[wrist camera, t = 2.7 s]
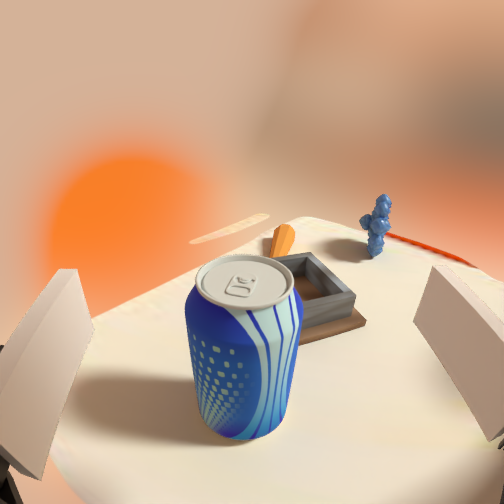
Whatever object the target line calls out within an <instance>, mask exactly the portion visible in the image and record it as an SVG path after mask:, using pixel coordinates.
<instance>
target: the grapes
mask: <svg viewBox="0 0 504 504" xmlns="http://www.w3.org/2000/svg"><path fill="white" fill-rule="evenodd" d="M391 204H392V203H391V201H390V198H389V197H388V196H387V195H386V194H382V195H381V196H380V197H378V198H377V199H376V207H375V208H374V211H372V215H369V214H366V215H364V216H363V217H362V218H361V219H360V220H359V222H360V224H361V226H362V228H363V229H364V230H368V236H369V239H368V244H369V245H368V246H367V249H368V251H369V253H370V255H371V256H373V257H375V256H377V255H379V254H380V253H381V252H382V251H383V250H382V247H383V245H384V241H383V238H384V237H383V236H384V235H385V234H386V232H387V231H388V230H389V229H390V228H391V226H390V224H389V222H388V219H389V218H388V214H389V213H390V209H389V208H390V207H391Z"/></svg>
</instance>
